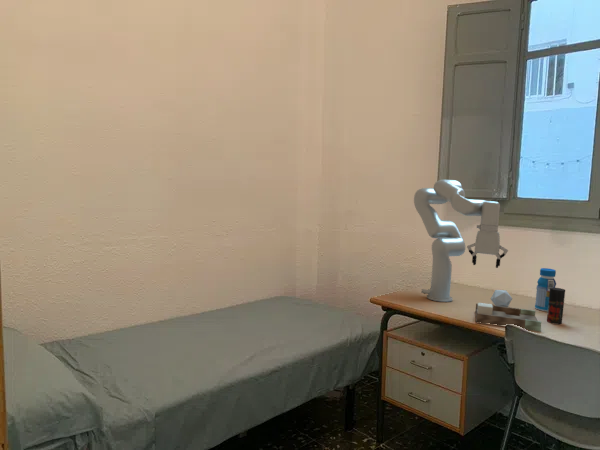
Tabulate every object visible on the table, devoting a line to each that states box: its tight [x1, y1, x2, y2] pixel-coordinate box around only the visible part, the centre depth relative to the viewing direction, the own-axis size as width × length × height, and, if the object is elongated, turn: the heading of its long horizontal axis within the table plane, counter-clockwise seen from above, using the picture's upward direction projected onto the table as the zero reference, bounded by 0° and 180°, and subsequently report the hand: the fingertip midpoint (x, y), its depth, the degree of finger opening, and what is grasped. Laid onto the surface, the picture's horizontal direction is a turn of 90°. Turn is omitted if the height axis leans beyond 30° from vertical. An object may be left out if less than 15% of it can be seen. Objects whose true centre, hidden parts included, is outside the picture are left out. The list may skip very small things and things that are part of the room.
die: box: [490, 289, 513, 307], centre depth 233 cm, size 8×9×10 cm
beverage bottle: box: [534, 267, 557, 313], centre depth 231 cm, size 8×8×20 cm
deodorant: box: [546, 287, 566, 325], centre depth 210 cm, size 6×6×15 cm
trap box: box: [475, 302, 542, 332], centre depth 209 cm, size 25×19×4 cm
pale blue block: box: [477, 302, 494, 315], centre depth 212 cm, size 6×6×4 cm
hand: (485, 266), depth 215 cm, fingers open, 9 cm apart
